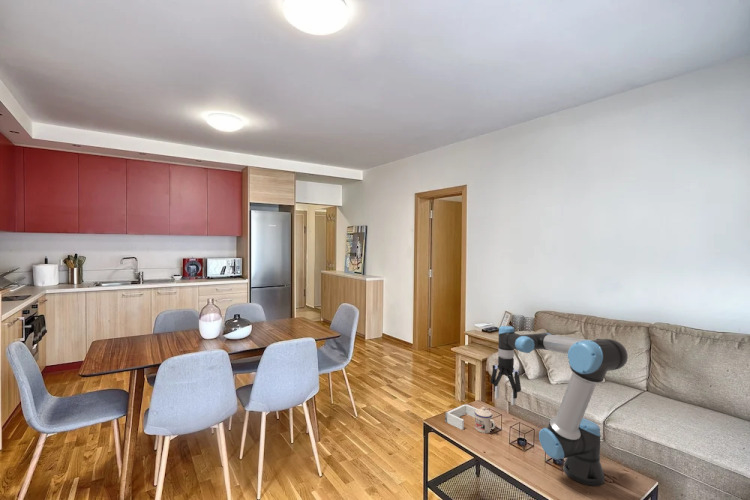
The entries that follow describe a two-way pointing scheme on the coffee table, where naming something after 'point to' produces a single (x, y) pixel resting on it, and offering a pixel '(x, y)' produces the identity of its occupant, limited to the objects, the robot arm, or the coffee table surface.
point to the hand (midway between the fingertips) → (505, 401)
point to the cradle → (454, 415)
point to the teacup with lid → (483, 420)
